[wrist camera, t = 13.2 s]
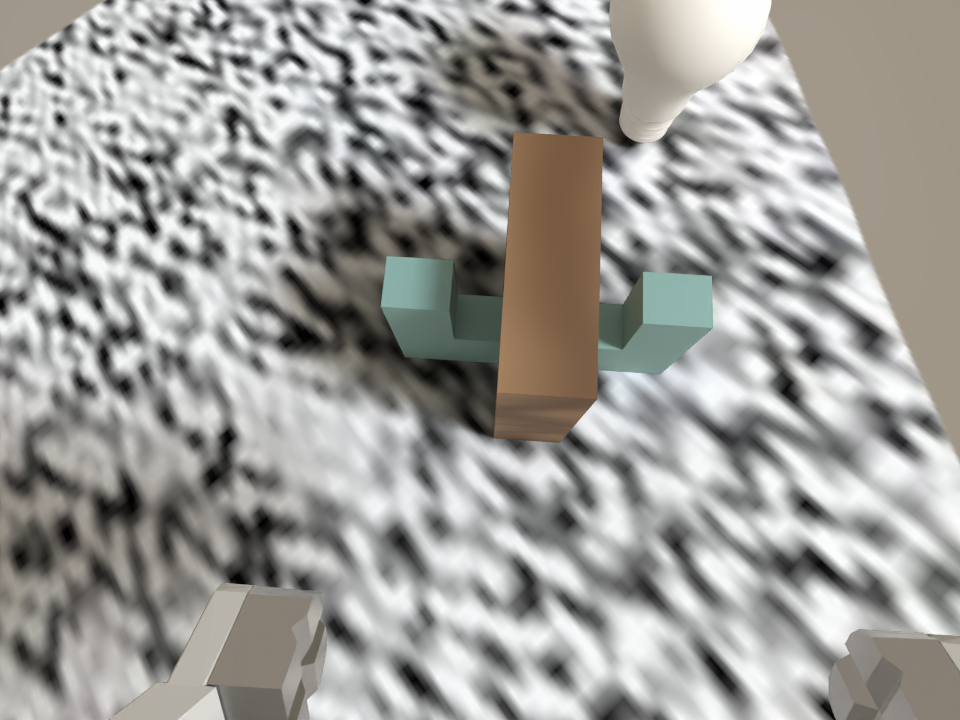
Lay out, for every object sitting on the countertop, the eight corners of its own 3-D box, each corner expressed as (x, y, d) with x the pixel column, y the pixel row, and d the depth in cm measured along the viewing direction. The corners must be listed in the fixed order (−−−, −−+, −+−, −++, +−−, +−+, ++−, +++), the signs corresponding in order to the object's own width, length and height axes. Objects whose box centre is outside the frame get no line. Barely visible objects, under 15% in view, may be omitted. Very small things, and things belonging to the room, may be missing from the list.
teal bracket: (405, 357, 29) (380, 306, 23) (409, 317, 30) (386, 256, 23) (660, 374, 29) (713, 327, 22) (660, 333, 30) (711, 276, 23)
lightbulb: (558, 114, 33) (593, -84, 22) (654, 63, 34) (731, -152, 23) (624, 203, 31) (696, 38, 21) (722, 148, 32) (839, -39, 22)
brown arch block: (493, 438, 28) (496, 392, 19) (505, 256, 31) (514, 132, 21) (559, 442, 28) (597, 399, 19) (566, 260, 31) (602, 137, 21)
